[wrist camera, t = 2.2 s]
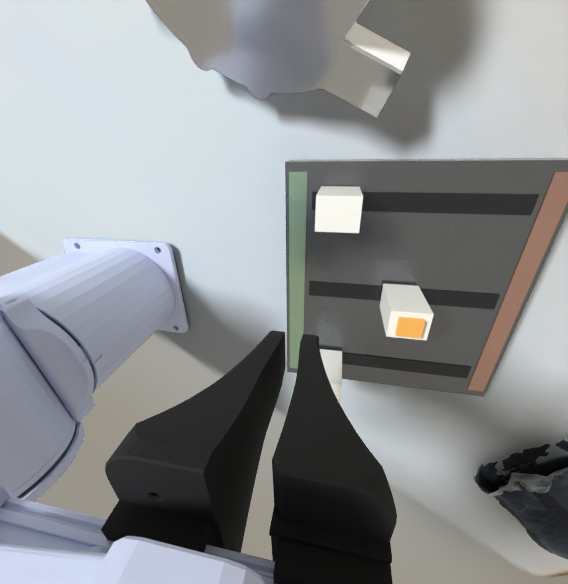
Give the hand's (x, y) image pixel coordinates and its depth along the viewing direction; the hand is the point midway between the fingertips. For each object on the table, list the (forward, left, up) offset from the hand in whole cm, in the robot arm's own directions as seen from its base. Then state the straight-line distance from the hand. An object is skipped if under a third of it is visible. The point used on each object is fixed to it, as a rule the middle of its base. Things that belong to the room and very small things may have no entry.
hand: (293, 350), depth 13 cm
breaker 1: (+2, +6, -6) cm, 8 cm away
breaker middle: (+5, 0, -6) cm, 8 cm away
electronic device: (+23, -20, -9) cm, 32 cm away
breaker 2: (+1, -6, -6) cm, 8 cm away
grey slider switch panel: (+6, 0, -8) cm, 10 cm away
